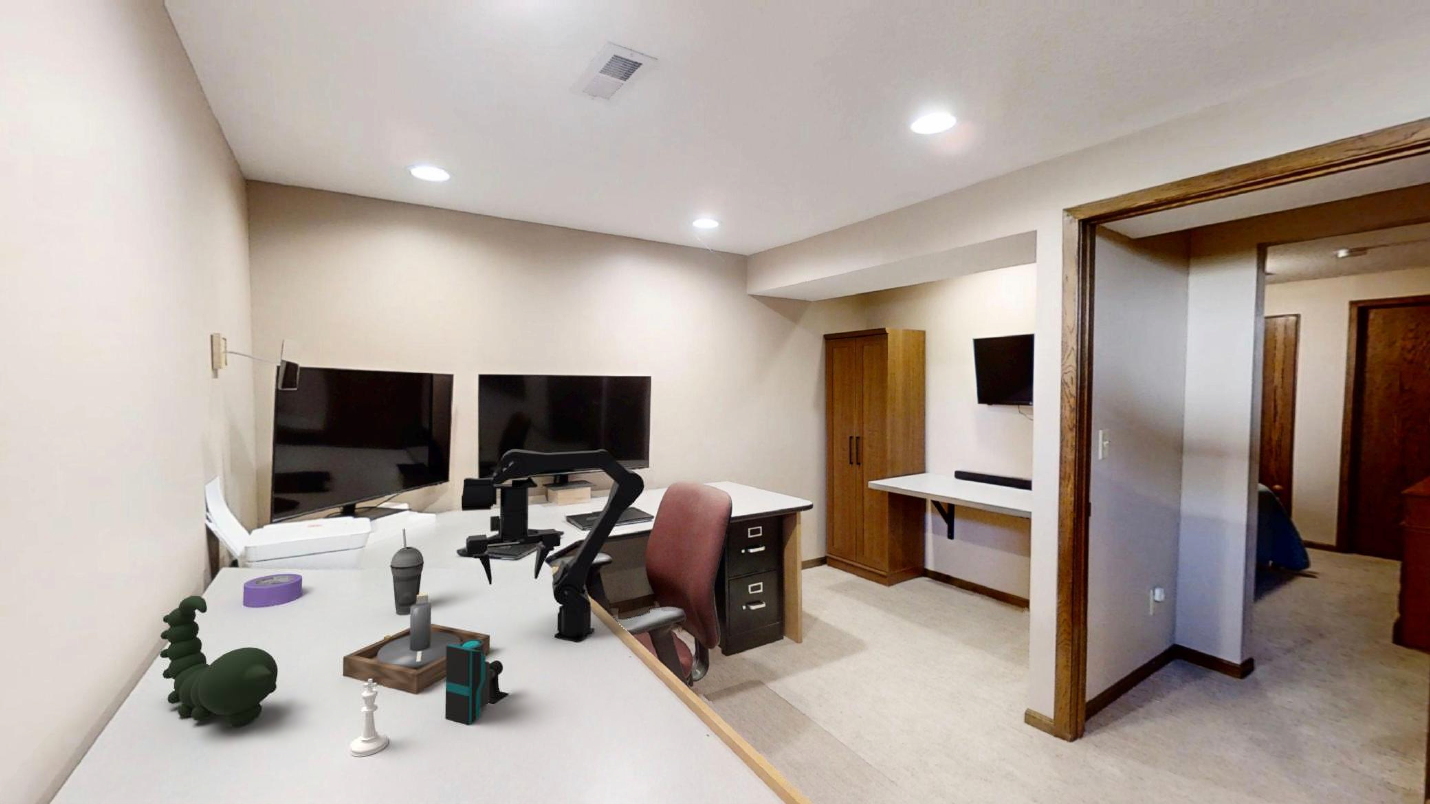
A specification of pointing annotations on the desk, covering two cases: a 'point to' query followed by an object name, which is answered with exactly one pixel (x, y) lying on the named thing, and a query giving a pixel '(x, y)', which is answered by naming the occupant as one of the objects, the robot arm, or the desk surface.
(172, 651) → the toy figurine
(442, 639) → the knob
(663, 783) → the desk surface
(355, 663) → the dial base
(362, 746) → the chess piece
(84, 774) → the desk surface
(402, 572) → the beverage cup
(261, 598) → the tape roll
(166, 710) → the desk surface
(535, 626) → the desk surface
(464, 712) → the surveillance camera
